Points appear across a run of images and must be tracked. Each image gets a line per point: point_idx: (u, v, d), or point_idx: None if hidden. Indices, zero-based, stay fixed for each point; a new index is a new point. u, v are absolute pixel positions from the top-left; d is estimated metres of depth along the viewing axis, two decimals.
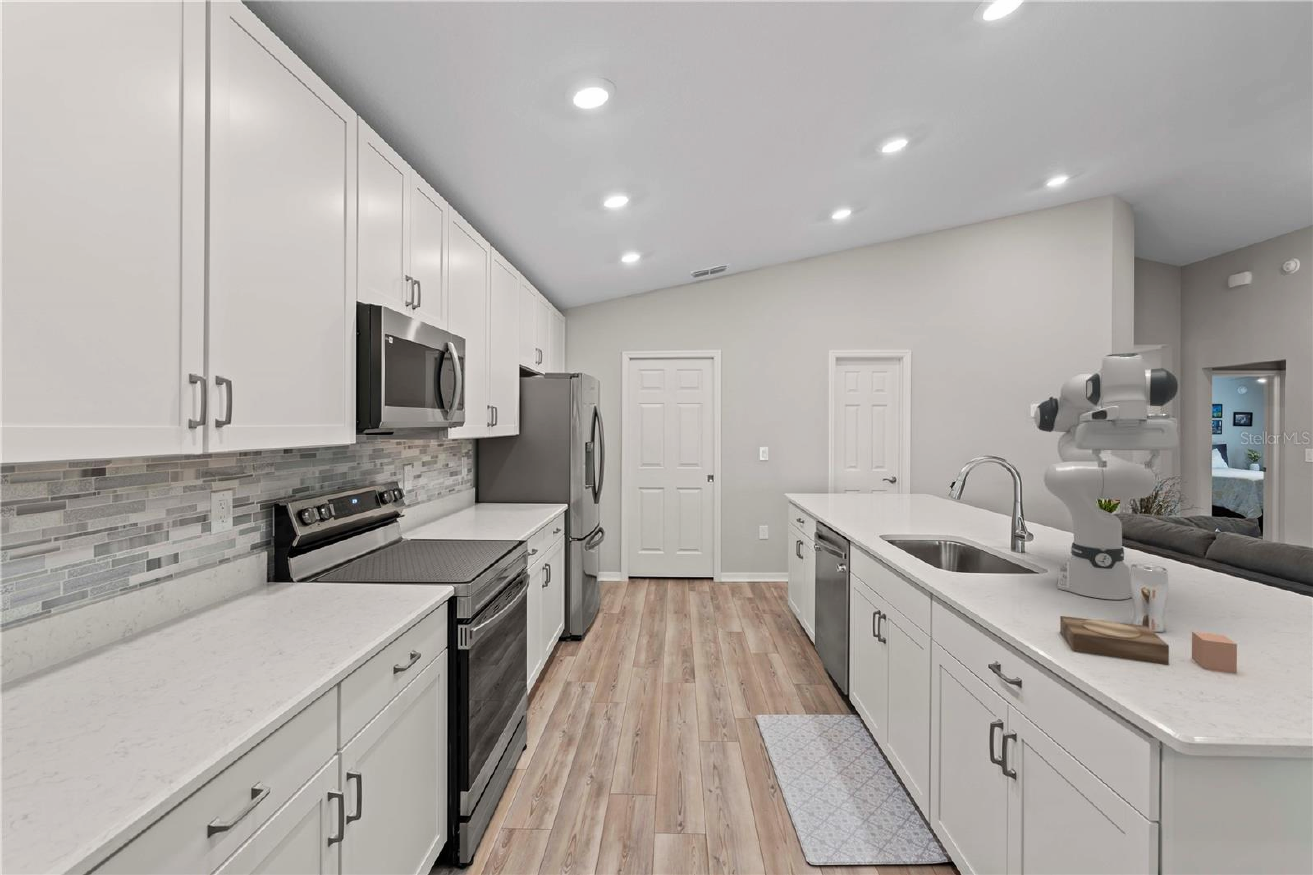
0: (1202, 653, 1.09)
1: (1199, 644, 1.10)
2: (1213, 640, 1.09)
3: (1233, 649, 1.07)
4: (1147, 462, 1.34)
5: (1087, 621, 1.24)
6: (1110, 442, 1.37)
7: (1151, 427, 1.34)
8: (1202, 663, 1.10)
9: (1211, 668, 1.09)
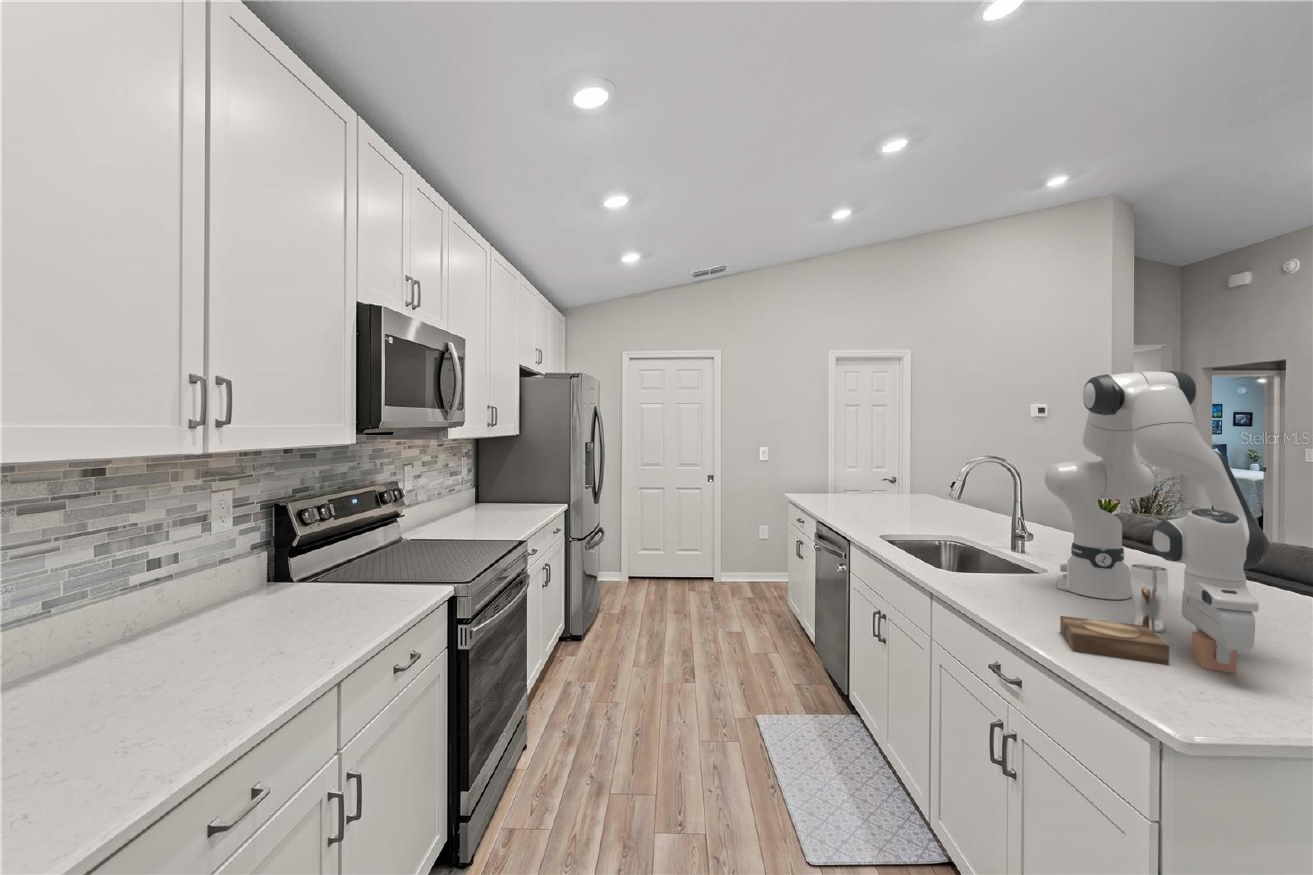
0: (1202, 653, 1.09)
1: (1199, 643, 1.10)
2: (1213, 640, 1.09)
3: None
4: None
5: (1087, 621, 1.24)
6: None
7: None
8: (1202, 663, 1.10)
9: (1211, 668, 1.09)
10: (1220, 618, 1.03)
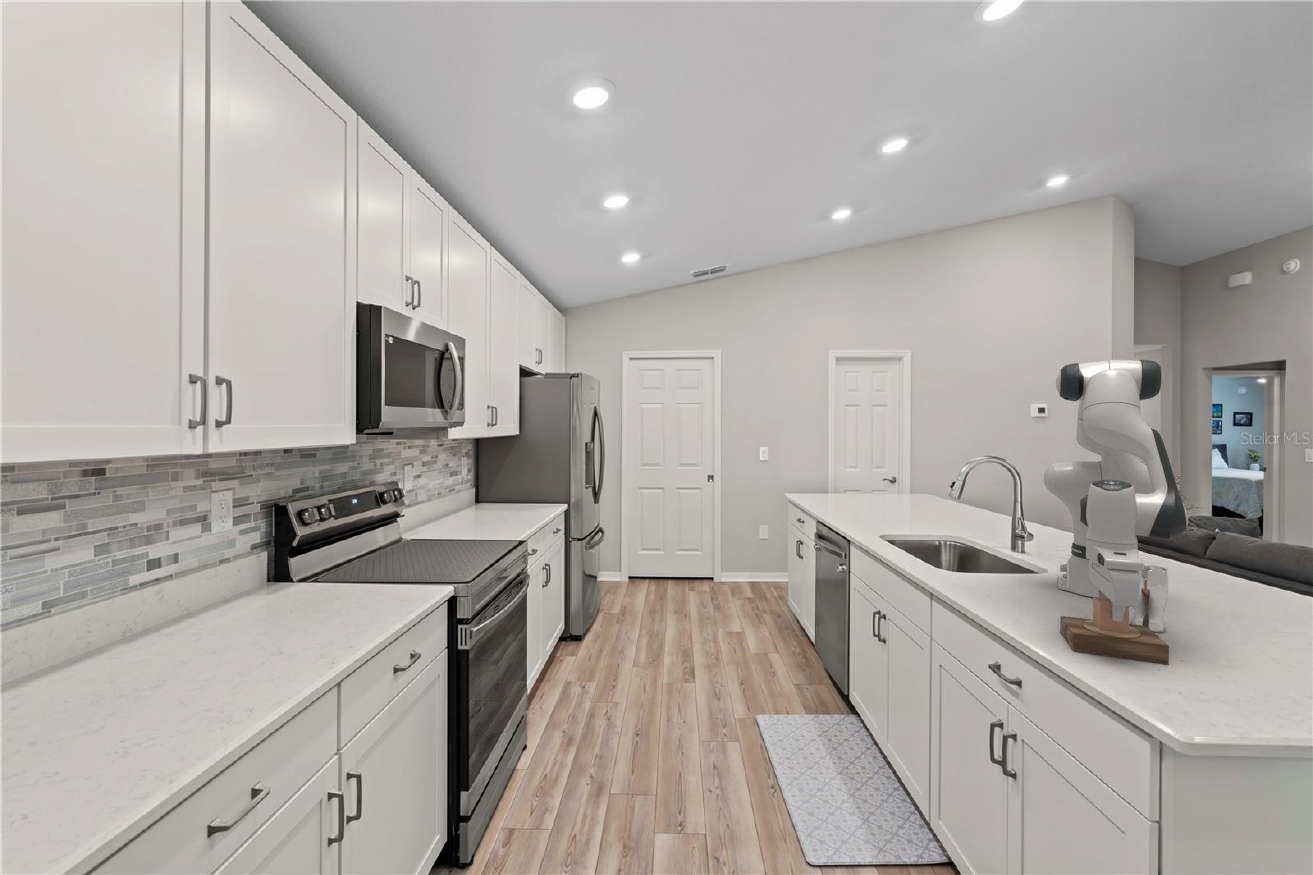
0: (1099, 615, 1.19)
1: (1098, 607, 1.20)
2: (1108, 603, 1.18)
3: (1126, 610, 1.17)
4: None
5: (1087, 621, 1.24)
6: None
7: None
8: (1099, 624, 1.19)
9: (1107, 629, 1.18)
10: (1110, 577, 1.13)
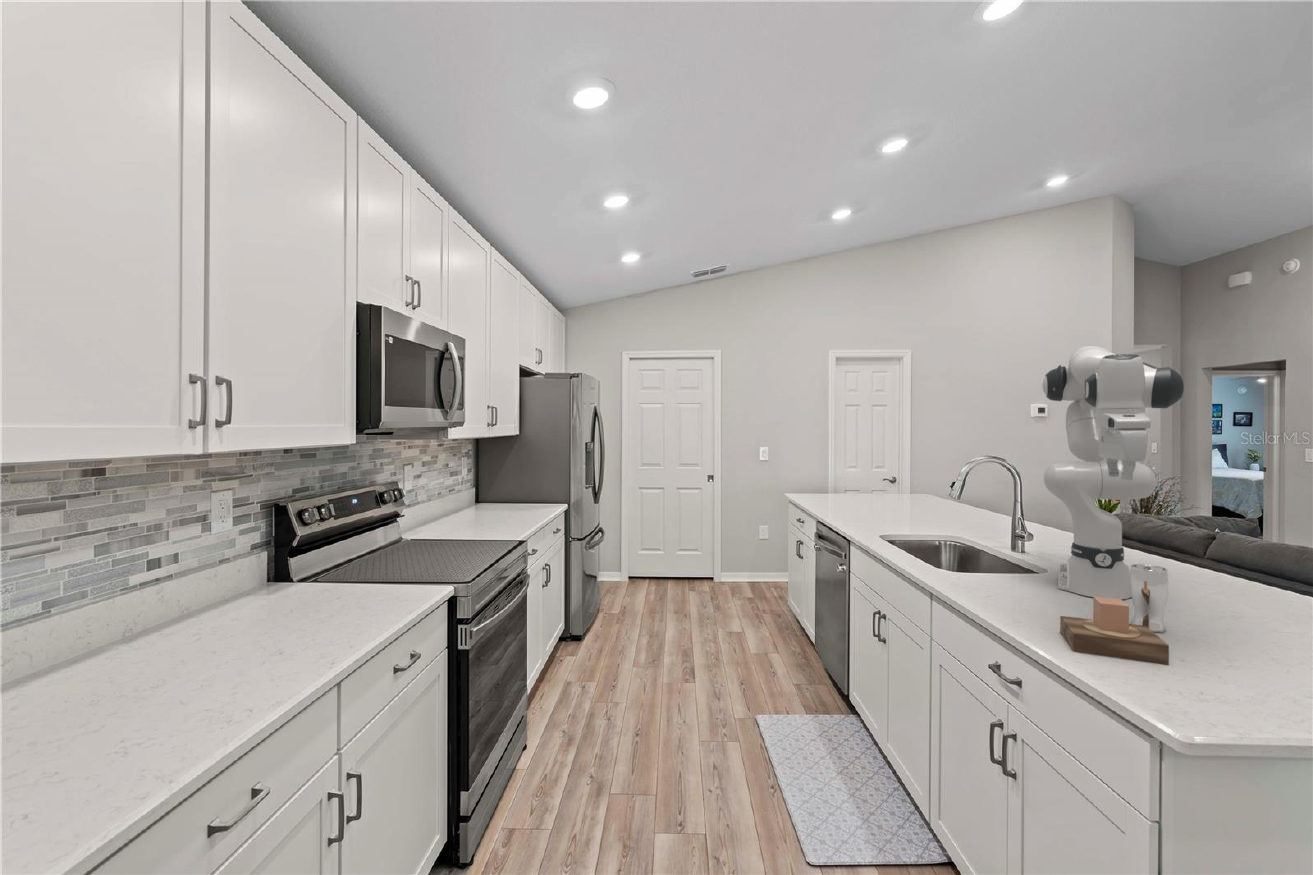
0: (1099, 615, 1.19)
1: (1098, 607, 1.20)
2: (1108, 603, 1.18)
3: (1126, 610, 1.17)
4: (1118, 470, 1.32)
5: (1087, 621, 1.24)
6: None
7: None
8: (1099, 624, 1.19)
9: (1107, 629, 1.18)
10: (1120, 436, 1.22)
